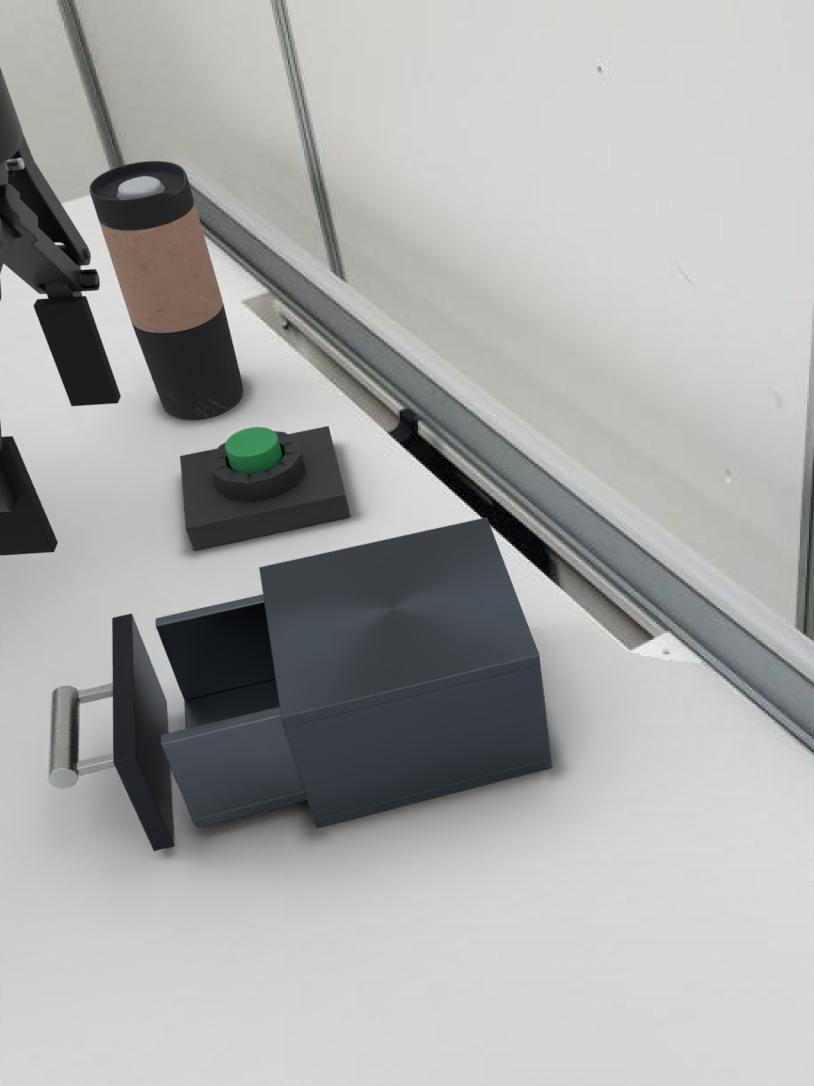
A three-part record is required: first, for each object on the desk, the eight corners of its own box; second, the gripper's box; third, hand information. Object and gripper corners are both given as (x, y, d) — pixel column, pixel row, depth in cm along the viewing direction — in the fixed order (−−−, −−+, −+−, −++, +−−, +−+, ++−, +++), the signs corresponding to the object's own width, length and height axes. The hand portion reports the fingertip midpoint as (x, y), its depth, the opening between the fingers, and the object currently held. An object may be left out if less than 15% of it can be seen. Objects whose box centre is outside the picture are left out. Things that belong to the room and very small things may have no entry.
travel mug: (151, 390, 114) (78, 174, 101) (234, 366, 117) (174, 152, 104) (170, 431, 109) (97, 209, 96) (257, 405, 112) (197, 185, 98)
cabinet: (316, 828, 76) (281, 717, 70) (291, 676, 86) (258, 566, 79) (552, 767, 79) (539, 655, 72) (502, 626, 88) (487, 516, 82)
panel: (193, 551, 97) (179, 509, 94) (187, 477, 104) (173, 437, 101) (350, 517, 99) (341, 475, 96) (333, 447, 106) (324, 406, 103)
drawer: (75, 872, 73) (28, 783, 68) (78, 722, 82) (37, 634, 77) (383, 793, 77) (360, 702, 71) (353, 657, 86) (331, 568, 80)
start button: (232, 479, 97) (226, 460, 96) (228, 451, 100) (223, 432, 99) (284, 468, 98) (279, 449, 97) (279, 440, 101) (274, 422, 100)
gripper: (-115, 187, 46) (74, 620, 60) (68, -22, 65) (180, 347, 79) (-324, 200, 46) (-86, 630, 60) (-80, -12, 65) (58, 354, 79)
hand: (65, 470), depth 69 cm, fingers open, 13 cm apart
